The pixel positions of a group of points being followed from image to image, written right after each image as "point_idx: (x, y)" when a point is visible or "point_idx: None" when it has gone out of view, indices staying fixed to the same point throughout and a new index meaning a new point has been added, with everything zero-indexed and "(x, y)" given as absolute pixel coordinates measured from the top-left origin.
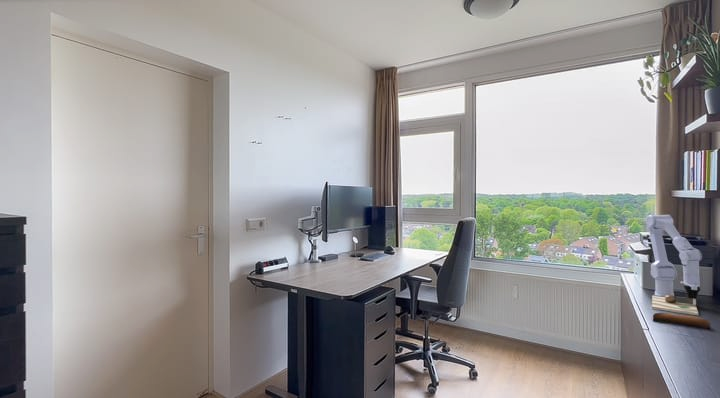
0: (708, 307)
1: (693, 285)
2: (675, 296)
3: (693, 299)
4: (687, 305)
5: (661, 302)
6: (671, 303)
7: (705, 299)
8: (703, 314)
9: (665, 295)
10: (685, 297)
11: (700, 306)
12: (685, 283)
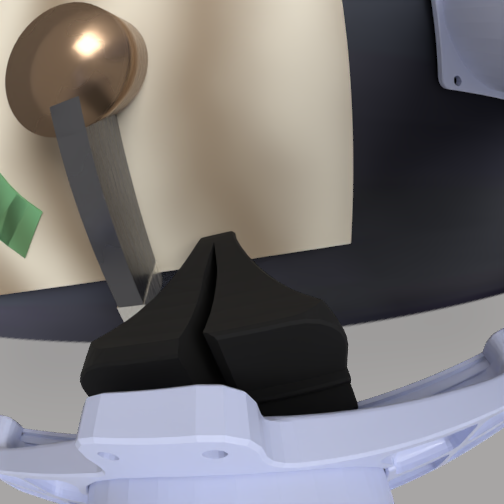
0: None
1: (14, 483)
2: (72, 130)
3: (118, 306)
4: None
5: (26, 19)
6: None
7: (479, 271)
8: (24, 305)
9: (39, 19)
10: (117, 241)
11: None
12: (68, 466)
